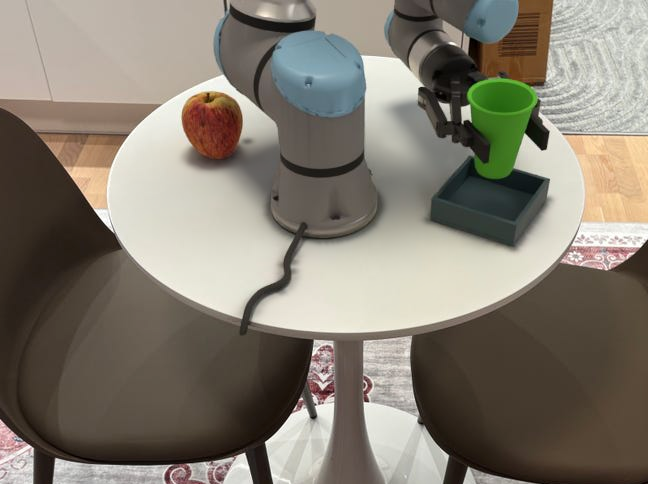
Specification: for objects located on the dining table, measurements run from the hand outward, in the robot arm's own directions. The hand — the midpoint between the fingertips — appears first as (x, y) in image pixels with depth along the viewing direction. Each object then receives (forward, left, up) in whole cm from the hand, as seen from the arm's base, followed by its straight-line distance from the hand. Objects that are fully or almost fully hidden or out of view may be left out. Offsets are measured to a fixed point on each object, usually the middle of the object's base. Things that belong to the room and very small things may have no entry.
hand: (516, 147), depth 109 cm
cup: (+3, +4, -6) cm, 8 cm away
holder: (+3, +4, -13) cm, 14 cm away
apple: (-4, +47, -13) cm, 49 cm away
